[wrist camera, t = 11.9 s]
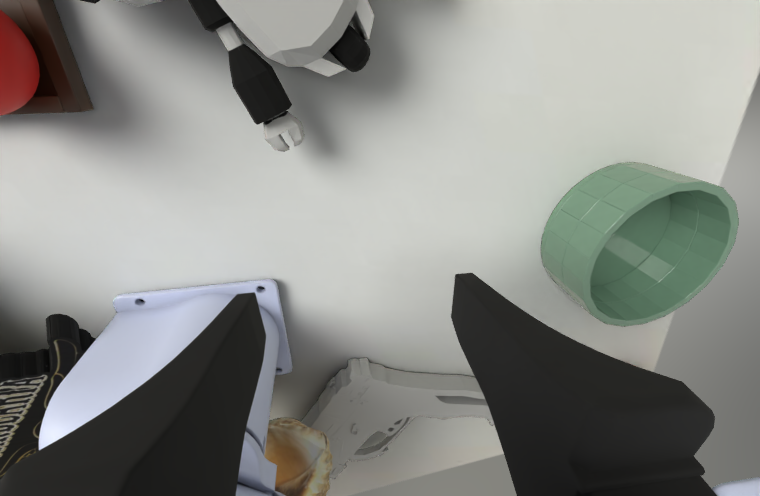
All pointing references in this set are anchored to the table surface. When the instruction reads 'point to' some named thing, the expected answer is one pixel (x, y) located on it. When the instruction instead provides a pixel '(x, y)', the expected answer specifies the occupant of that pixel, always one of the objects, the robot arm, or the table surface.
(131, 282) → the table surface
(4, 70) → the apple
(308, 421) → the toy gun
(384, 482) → the table surface
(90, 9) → the table surface
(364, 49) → the robot toy
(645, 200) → the bowl
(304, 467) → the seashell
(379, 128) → the table surface
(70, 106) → the coaster
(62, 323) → the emblem
